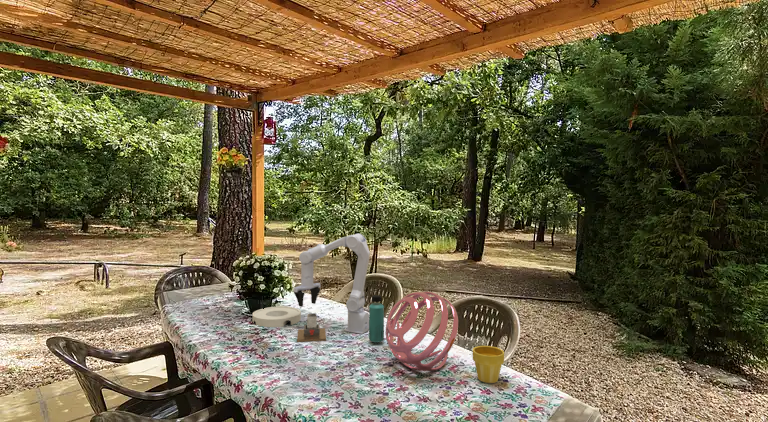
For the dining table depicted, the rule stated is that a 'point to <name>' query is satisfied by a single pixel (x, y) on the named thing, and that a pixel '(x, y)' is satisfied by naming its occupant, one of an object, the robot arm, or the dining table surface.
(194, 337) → the dining table surface
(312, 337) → the stand base
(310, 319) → the grayish brown rectangular block
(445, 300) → the spiral basket
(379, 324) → the beverage bottle
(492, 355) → the plant pot
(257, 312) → the ashtray
